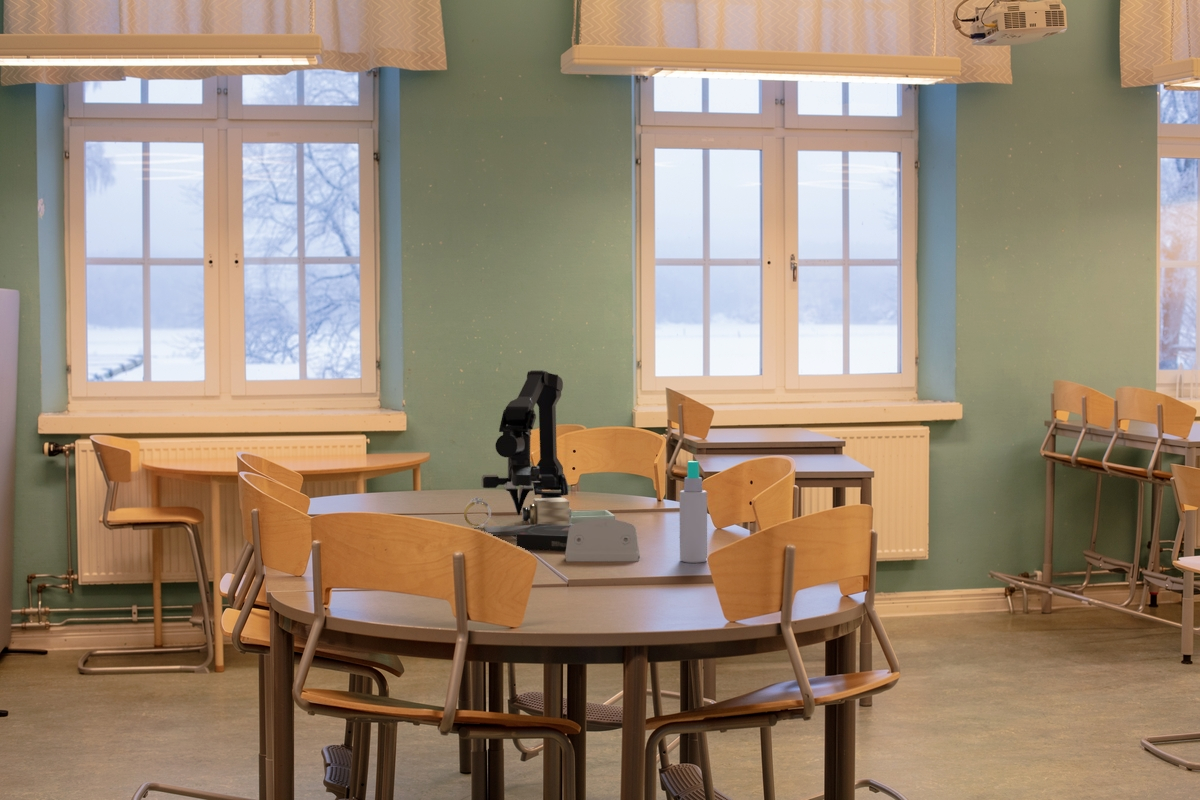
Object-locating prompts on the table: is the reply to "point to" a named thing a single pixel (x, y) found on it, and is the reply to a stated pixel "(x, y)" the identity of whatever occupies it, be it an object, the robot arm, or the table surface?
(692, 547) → the spray bottle
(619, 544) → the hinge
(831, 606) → the table surface
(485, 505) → the ring
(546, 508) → the block
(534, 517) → the shaft
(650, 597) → the table surface
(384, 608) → the table surface
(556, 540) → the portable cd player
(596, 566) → the table surface
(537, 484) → the robot arm
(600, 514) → the tray
